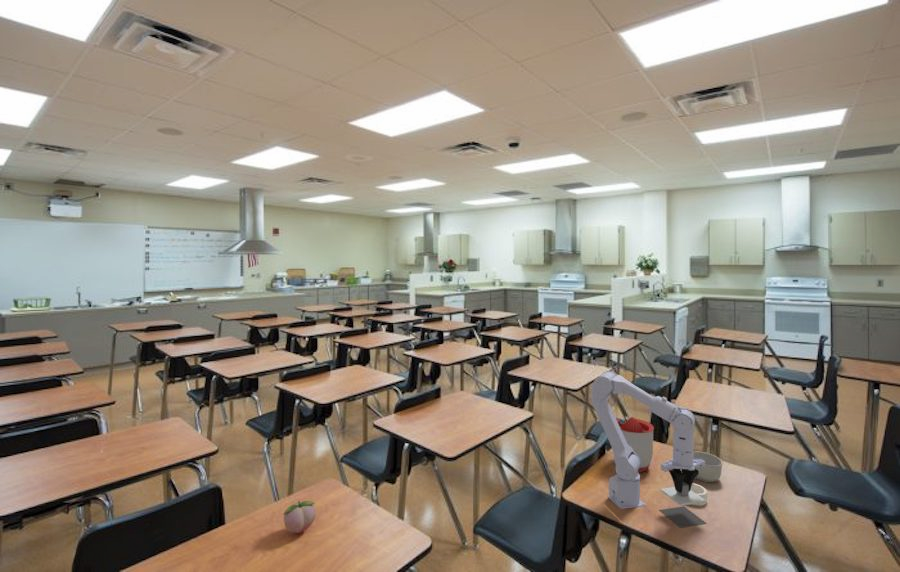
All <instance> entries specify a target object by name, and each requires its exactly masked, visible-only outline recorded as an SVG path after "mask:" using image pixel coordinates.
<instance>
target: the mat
mask: <svg viewBox="0 0 900 572" xmlns="http://www.w3.org/2000/svg"><path fill="white" fill-rule="evenodd" d="M658 511H659V512H660V513H661V514H663V515H664V516H665V517H666V518H668V519H669V520H670V521H671V522H672V523H673V524H675V525H676V526H677V527H678V528H679V529H684V528H689V527H695V526H696V527H697V526H701V525H707V524H708V523H707V522H705V521H704V520H703V519H702V518H700V517H699V516H697V515H696V514H695V513H694V512H692V511H691V510H689V509H688V508H687V507H686V506H685V505H683V506H676V507H671V508H670V507H668V508H662V509H658Z"/></svg>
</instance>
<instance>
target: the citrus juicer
mask: <svg viewBox="0 0 900 572" xmlns="http://www.w3.org/2000/svg"><path fill="white" fill-rule="evenodd" d="M616 420H617V422H618V424H619V426H620V429H621V431H622V433H623V435H624V437H625V439H626V442H627V444H628V445H629V446H630V447H632V449H633V451H634V452H635V453H636V454H637V455H638V456H639V458H640V460H641V466H640V468H639V469H638V473H643V472H646V471H647V470H649V467H650V466H651V462H652V460H653V453H654V430H655V427H654V425H653V424H651V423H650V422H648V421H645V420H642V419H639V418H635V417H633V416H631V417H629V418H628V419H627V420H625V422H624V423H621V421H620V420H619V419H618V418H616ZM612 453H613V454H612V455H614V452H613V451H612Z"/></svg>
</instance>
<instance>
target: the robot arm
mask: <svg viewBox="0 0 900 572" xmlns="http://www.w3.org/2000/svg"><path fill="white" fill-rule="evenodd" d="M612 392H613V395H615V394H617V395H619V394H626V395H627V396H629V397H631V398H633V399H635V400H637V401H638V402H640V403H642V404H644V405H646V406H647V407H648V409H649V411H650V413H653V414H655V415H656V416H658V417H660V418H661V419H663V420H664V421H667V423H669V424H672V427H673V434H672V438H673V440H672V459H670V460H667V461H665V462H661V463H660V470H662V471H663V472H664V473H668V472H669V474H670V476H671V479H672V482H673V485H674V486H673V487H675V490H676V491H678V492H679V493H682V489H683V482H685V483H686V484H688V485H689V492H690V489H691V486H692V484H693V483H694V481H695V480H696V479H697V478H696V477H697V475H698V474H699V471H698V470H697V469H695V467H705V461H703V460H702V459H694V452H695V451H694V447H695V435H694V426H695V423H696V417H695V415H694V413H693V412H692V411H690V409H688V408H683V407H681V406H680V405H678V406H677V405H676V404H674V403H672V402H670V401H669V400H668V398H667V397H666V396H662V397H661V396H660V395H657V396H652V395H651V394H649V393H648V392H646V391H645V390H644V389H641V388H640V387H638V386H637V385H635V384H633V383H632V382H630V381H629V380H627V379H626V378H625V377H623V376H622V375H619V374H617V373H615V371H612V370H606V371H604V372H602V374H600V375H598V376H597V377H596V378H595V379H594V380H593V382H592V384H591V398H590V399H591V400H590V401H591V405H592V406H593V409H594V411H595V413H596V415H597V417H598V420H599V421H600V424H601V427H602V429H603V430H604V433H605V435H606V437H607V439H608V442H609V444H610V447H611V448H612V453H613V452H614V454H613V462H614V463H615V472H616V474H615V475H614V476H612V477H609V480H608V495H607V498H609V500H610V501H612V502H613V504H615V506H617V507H618V508H619V509H621V510H624V509H631V508H638V507H644V506H647V505H646V503H645V502H643V501H642V500H641V475H640V472H638V469H639V468H640V466H641V460H640V458H639V456H638V455H637V454H636V453H635V452H634V451H633V449H632V447H630V446H629V445H628V444H627V442H626V439H625V437H624V435H623V433H622V431H621V429H620V426H619V424H618V422H617V420H616V419H617V418H616V416H615V414H614V411H613V409H612V407H611V405H610V403H609V399H610V397H611V394H612Z"/></svg>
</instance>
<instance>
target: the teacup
mask: <svg viewBox="0 0 900 572" xmlns="http://www.w3.org/2000/svg"><path fill="white" fill-rule="evenodd" d="M694 459H702V460H703V461H705V467H695V469H697V470H698V471H699V474H698V475H697V477H696V478H695V479H697V480H699V481H701V482H705V483H714V482H717V481H718V480H719V479H720V478H721V475H722V468H723V461H722V459H721V458H719V457H718V456H717V455H714V454H712V453H709V452H705V451H696V450H695V451H694Z"/></svg>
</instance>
